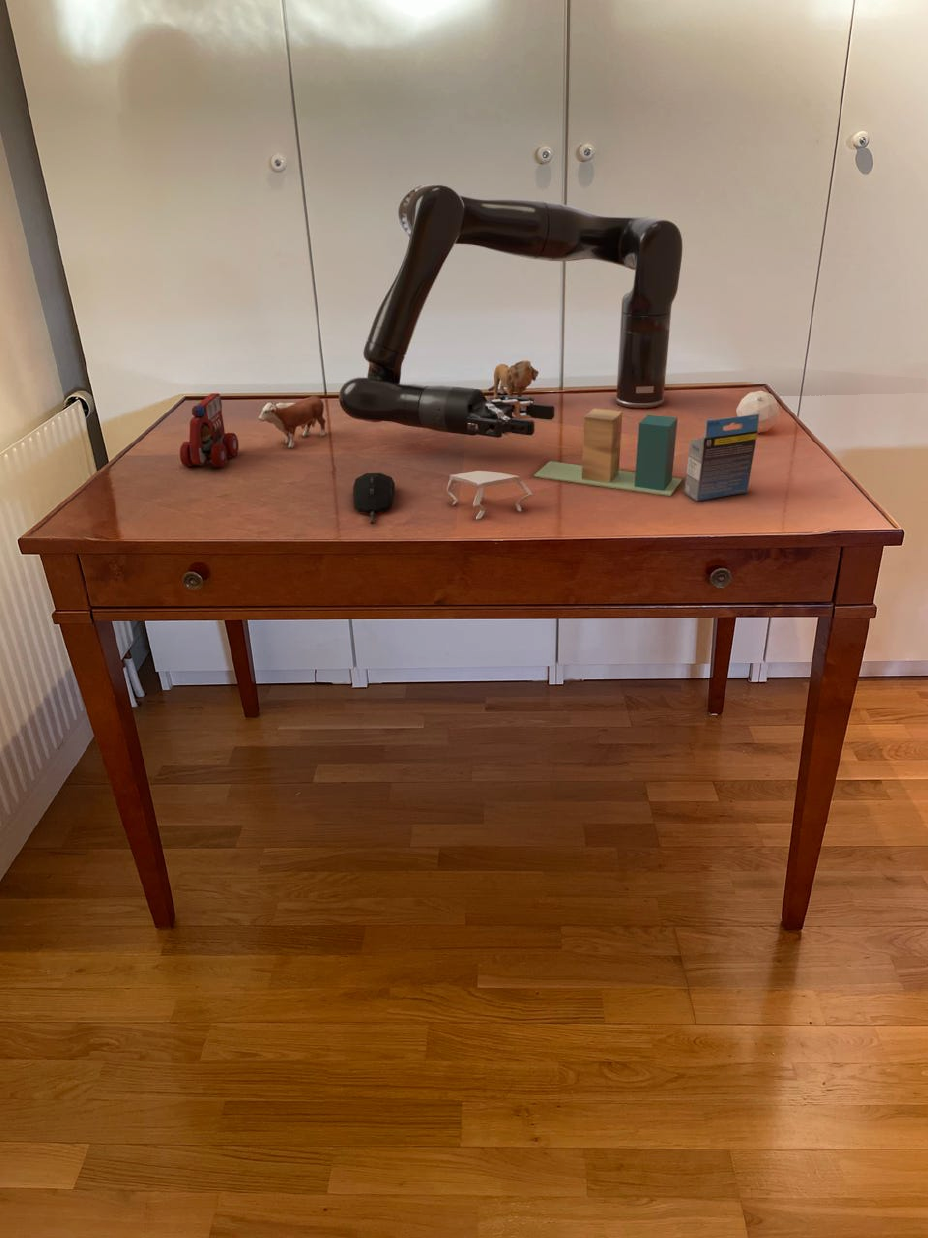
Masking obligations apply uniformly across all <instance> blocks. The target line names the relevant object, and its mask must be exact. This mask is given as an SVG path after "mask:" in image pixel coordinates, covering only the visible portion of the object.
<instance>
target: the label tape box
mask: <svg viewBox="0 0 928 1238" xmlns="http://www.w3.org/2000/svg"><path fill="white" fill-rule="evenodd" d="M758 420H759V414H754V415H746V416H738V417H737V416H729V417H723V418H714V419H706V420H705V433H704V437H702V438H696V439H692V440H690V441H689V447H688V457H687V465H686V473H685V480H684V481H685V482H684V493H685V494H686V495H687V496H688V497H690V498H691V499H692V500H694V501H695V502H701V501H709V500H713V499H719V498H723V497H729V496H735V495H741V494H747V493H748V491H749V485H750V478H751V473H752V467H753V462H754V456H755V450H756V442H757V438H758V433H757V428H758ZM732 424H733V425H735V426H738V425H739V426H740V427H739V428H731V429H724V427H729V426H731V425H732Z"/></svg>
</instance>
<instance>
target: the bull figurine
mask: <svg viewBox="0 0 928 1238" xmlns="http://www.w3.org/2000/svg"><path fill="white" fill-rule="evenodd" d="M324 410H325V407H324V402H323V400H322V398H321V397H320V396H319V395H318V394H317V395H316V394H314V395H312V396H309V397H306V398H303V399H301V400H298V401H295V402H287V403H284V402H278V403H276V404H273V403H271V402H267V403H266V404H265V405H264V406H263V408H262V410H261V413H260V414H259V415H258V420H259V422H267V423H268V424H273V425H274V427H275V428H277V429H278V430H279V431H280V432H282V433H283V434H284V435H285V436H286V438H285V441H284V444H285V445H287V449H294V447H295V443H294V438H295V435H296V430H297V427H301V429H302V430H304V429H305V430H304V431H303V433H302V435H301V436H302V437H303V438H306V437H308V436H309V434H310V429H311V427H312V428H315V426H316V423H317V422H318V424H319V425H320V433H319V437H325V435H326V433H327V432H326V419H325V418H324V416H323V415H324Z"/></svg>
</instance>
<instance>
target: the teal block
mask: <svg viewBox="0 0 928 1238" xmlns="http://www.w3.org/2000/svg"><path fill="white" fill-rule="evenodd" d="M678 420H679V419H678V417H676V416H669V415H668V416H667V415H659V414H650V413H649V414H646V415H645V416H644V417H643V418H642V419H641V421H639V422H638V431H637V445H636V459H635V472H634V473H635V487H641V488H648V489H655V490H662V491H664V490H665V489H666V487H667V486H668V485H669V483H670V482H671V481H672V478H673V471H674V460H675V450H676V440H677V439H676V438H677V429H678V428H677V427H678Z"/></svg>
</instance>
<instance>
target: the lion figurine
mask: <svg viewBox="0 0 928 1238" xmlns="http://www.w3.org/2000/svg"><path fill="white" fill-rule="evenodd" d="M539 374H540V372H539V371H538V370H537V369H535V368H534V366H532V365H531V361H530V360H527V359H526V360H521V361H518V362H515V363H514V364H512V365H511V366H510V367H509V365H507V364H505V363H499V364H498V365H496V366H495V368H494V372H493V381H494V382H493V383H494V384H493V386H491V387H489V388H488V389H487V390H488V392H491V391H493V397H492V398H493V399H492V400H494V399H500V395H498V392H499V393H500V394H501V395H505V394H506V392H507V396H514V393H517V395H516V396H517V397H523V392H524V391H526V390H527V387H529V386H530V385H531V384H532V381H533V382H536V380H537V377H538V376H539ZM504 388H505V389H506V390H505V389H504Z"/></svg>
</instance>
